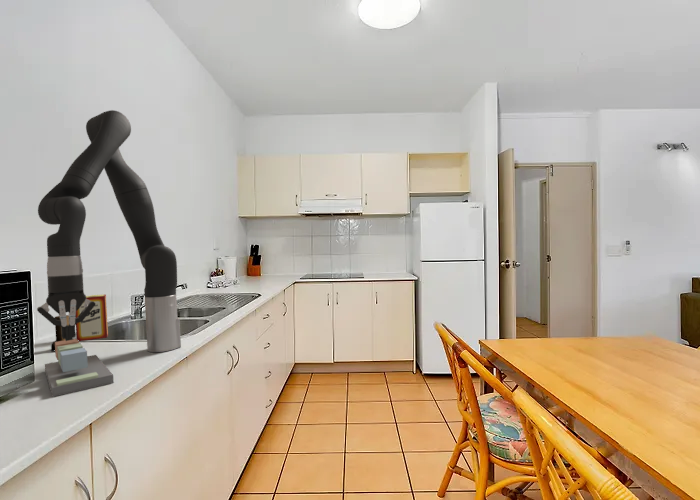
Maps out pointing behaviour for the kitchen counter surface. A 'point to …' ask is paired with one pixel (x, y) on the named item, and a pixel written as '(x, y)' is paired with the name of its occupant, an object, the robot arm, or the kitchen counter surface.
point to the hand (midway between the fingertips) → (68, 339)
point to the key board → (77, 377)
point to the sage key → (66, 348)
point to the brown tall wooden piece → (58, 332)
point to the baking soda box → (93, 320)
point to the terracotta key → (62, 343)
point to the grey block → (73, 359)
